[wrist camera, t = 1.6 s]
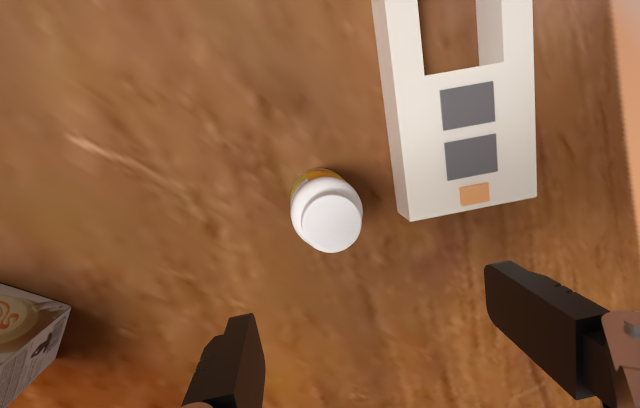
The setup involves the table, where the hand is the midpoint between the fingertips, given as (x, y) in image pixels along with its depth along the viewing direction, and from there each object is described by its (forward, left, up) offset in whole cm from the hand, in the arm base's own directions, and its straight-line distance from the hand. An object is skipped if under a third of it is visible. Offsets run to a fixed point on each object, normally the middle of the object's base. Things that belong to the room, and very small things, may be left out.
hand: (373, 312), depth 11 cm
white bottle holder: (-7, +13, -21) cm, 25 cm away
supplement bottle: (0, 0, -21) cm, 21 cm away
